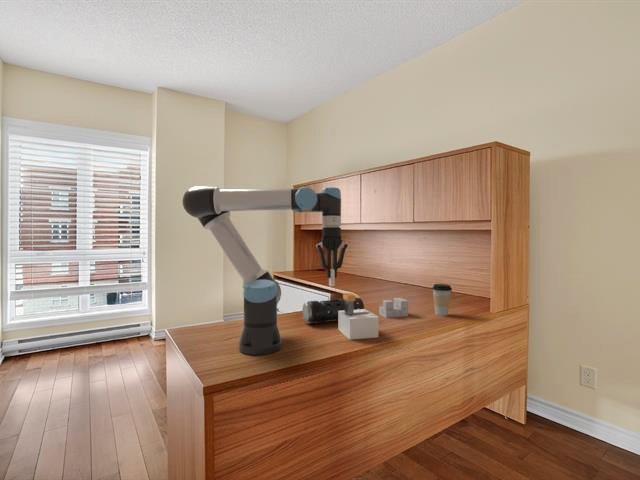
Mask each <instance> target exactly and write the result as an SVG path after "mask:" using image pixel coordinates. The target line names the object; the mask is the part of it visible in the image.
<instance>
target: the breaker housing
mask: <svg viewBox="0 0 640 480" xmlns="http://www.w3.org/2000/svg"><path fill="white" fill-rule="evenodd" d="M379 321H380V319H379V316H377V314H375V313H373V312H371V311H370V310H367V309H365V308H364V309H360V308H359V309H357V310H354V314H347V313H345V310H342V311H338V321H337V322H338V324H337V326H338V327H337V328H338V331H340V332H341V333H342V334H343V335H344V336H345V338H347V339H348V340H361V339H362V340H363V339H364V340H365V339H373V338H374V339H375V338H379V331H380V330H379Z"/></svg>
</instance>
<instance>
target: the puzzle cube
mask: <svg viewBox="0 0 640 480" xmlns="http://www.w3.org/2000/svg"><path fill="white" fill-rule="evenodd" d="M378 310H379V312H378V314H379V315H380V316H383V317H384V318H385V319H387V318H389V319H390V318H401V317H404V316H405V317H409V301H408V300H407V299H406V298H405V299H404V298H402V297H394V298H393V300H391V299H386V300H382V306H379V307H378Z"/></svg>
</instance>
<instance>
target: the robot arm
mask: <svg viewBox="0 0 640 480" xmlns="http://www.w3.org/2000/svg"><path fill="white" fill-rule="evenodd" d="M341 193H342V192H341V189H340V188H338V187H333V186H332V187H323V188H322V189H321V192H318V193H317V192H315V190H314V189H312V188H311V187H308V186H304V187H300V188H262V189H261V188H259V189H258V188H257V189H256V188H254V189H252V188H250V189H247V188H245V189H221V188H220V187H218V186H204V185H203V186H202V185H197V186H196V185H195V186H192V187H190V188H188V189H187V190H186V191H185V193H184V194H183V197H182V206H183V209H184V210H185V212H186V213H187V214H189V215H190V217H194V218H197V219H198V221H199V223H200V224H201V225H202V227H203V228H204V229H206V230H209V231H211V233H212V235H213V236H214V238H215V240H216V241H217V242H218V244H219V246H220V247H221V249H222V250H223V252H224V253H225V255H226V257H227V258H228V259H229V261H230V262H231V263H232V265H233V267H234V269H235V270H236V272H237V273H238V275H239V276H240V278H241V280H242V281H243V283H242V288H243V293H242V294H243V328H242V331H241V334H240V338H239V340H238V350H239V352H241V353H242V354H245V355H252V356H258V355H259V356H261V355H268V354H272V353H276V352H279V350H281V349H282V347H283V341H282V336H281V333H280V331H279V327H278V304H279V302H280V300H281V298H282V290H281V285H280V284H279V282H278V281H276V280H275V278H273V277H272V275H271V273H270V272H269V270H266V269H263V268H262V267H261V265H260V264H259V262H258V260H257V259H256V257H255V256H254V255H253V253H252V251H251V250H250V248H249V247H248V245H247V244H246V242H245V241H244V239H243V237H242V235H241V234H240V232H239V231H238V230H237V228H236V227H235V225H234V223H233V222H232V220H231V219H230V218H231V217H230V216H231V212H244V211H245V212H246V211H247V212H248V211H289V210H290V211H292V212H293V213H322V215H321V216H322V217H321V222H322V223H321V226H322V229H321V231H322V232H321V233H322V234H321V235H322V238H321V240H320V242H319V243H316V245H315V248H316V249H317V250H318V255H319V260H320V263H321V268H322V269H325V270H326V278H328V286H330V287H335V286H336V285H335V284H336V283H335V281H336V279H335V278H337V277H338V269H341V268H342V266H343V261H344V257H345V253H346V249H347V248H348V247H349V246H348V244H346V243H344V242H343V239H342V227H341V226H342V195H341ZM323 247H324V249H325V253H324V250H323ZM339 248H340V250H339ZM338 250H339V254H338ZM325 254H326V256H325ZM325 257H326V259H325Z"/></svg>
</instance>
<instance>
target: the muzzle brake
mask: <svg viewBox="0 0 640 480" xmlns="http://www.w3.org/2000/svg"><path fill="white" fill-rule="evenodd" d="M359 309H365V305H364V301H363V300H362V299H361V297H355V301H354V310H359ZM301 310H302V317H303V321H305V322H306V323H307V322H308V323H310V324H312V323H317V324H324V323H326V322H328V321H329V322H330V321H336V322H338V311H342V310H345V300H344V299H343V298H342V299H341V298H340V299H332V300H331V299H329V300H327V299H326V300H320V301H318V300H311V301H310V300H309V301H307V302H304V303H303V305H302V309H301Z"/></svg>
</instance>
